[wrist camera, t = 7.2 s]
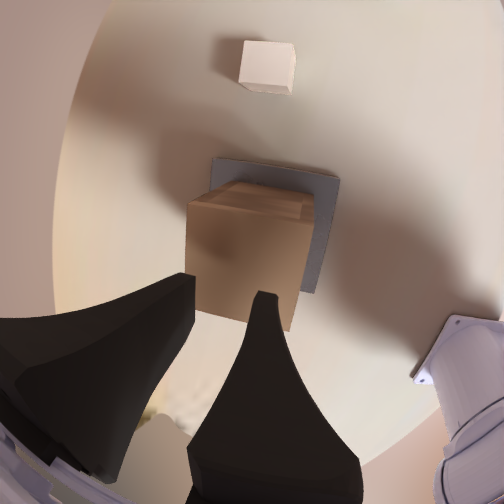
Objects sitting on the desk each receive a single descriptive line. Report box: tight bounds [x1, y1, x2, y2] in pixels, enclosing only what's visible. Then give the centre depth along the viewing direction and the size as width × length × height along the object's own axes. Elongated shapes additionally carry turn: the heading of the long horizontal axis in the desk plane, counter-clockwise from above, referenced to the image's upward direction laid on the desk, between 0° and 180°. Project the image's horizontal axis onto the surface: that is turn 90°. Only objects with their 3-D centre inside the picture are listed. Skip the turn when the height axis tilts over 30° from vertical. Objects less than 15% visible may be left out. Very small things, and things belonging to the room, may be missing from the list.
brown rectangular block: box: [185, 181, 314, 332], centre depth 15 cm, size 5×5×7 cm
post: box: [210, 158, 340, 294], centre depth 16 cm, size 8×8×6 cm
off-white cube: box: [239, 41, 296, 95], centre depth 13 cm, size 3×3×3 cm
